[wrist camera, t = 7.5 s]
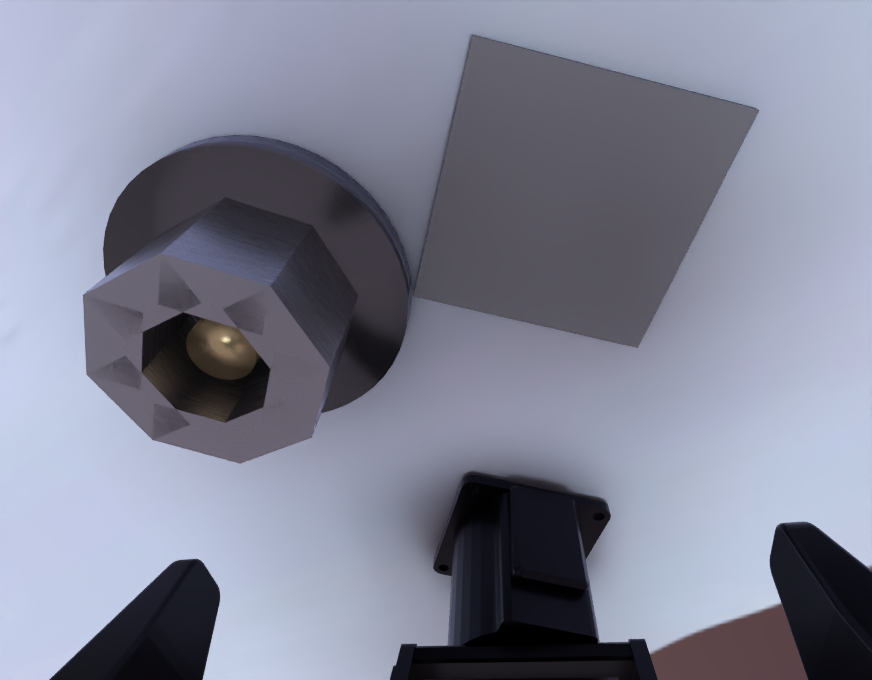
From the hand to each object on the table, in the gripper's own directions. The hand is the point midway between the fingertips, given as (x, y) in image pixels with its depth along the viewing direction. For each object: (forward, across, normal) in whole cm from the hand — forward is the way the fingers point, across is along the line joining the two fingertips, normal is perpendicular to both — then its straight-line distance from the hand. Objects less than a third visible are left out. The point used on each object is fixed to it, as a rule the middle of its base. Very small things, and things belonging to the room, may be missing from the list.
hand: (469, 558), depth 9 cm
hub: (+12, +7, 0) cm, 14 cm away
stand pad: (+12, -3, -1) cm, 12 cm away
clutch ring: (+10, +7, 0) cm, 13 cm away
